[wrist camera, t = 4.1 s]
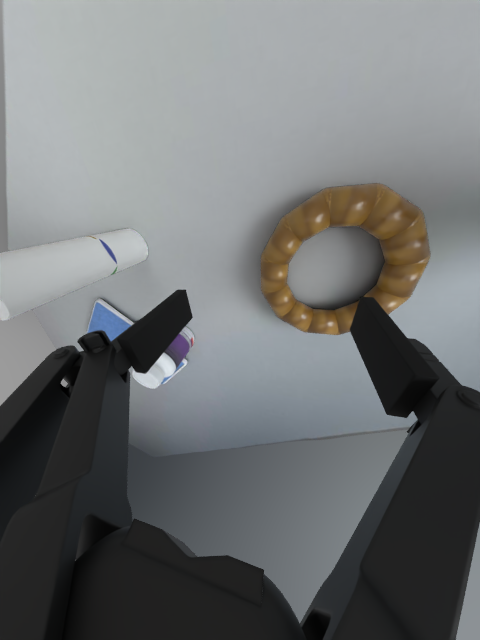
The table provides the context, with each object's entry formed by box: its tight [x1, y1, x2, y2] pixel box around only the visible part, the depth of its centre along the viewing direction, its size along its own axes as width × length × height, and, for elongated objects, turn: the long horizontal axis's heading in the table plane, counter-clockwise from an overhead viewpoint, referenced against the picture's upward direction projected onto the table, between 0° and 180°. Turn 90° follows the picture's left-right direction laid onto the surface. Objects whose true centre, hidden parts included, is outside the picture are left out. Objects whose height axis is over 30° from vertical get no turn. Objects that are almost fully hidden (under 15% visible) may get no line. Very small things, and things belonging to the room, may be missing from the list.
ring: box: [261, 183, 431, 335], centre depth 19 cm, size 15×15×3 cm
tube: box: [0, 228, 148, 320], centre depth 18 cm, size 4×4×15 cm
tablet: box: [87, 299, 188, 384], centre depth 36 cm, size 19×13×1 cm, turn 50°
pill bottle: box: [132, 327, 195, 389], centre depth 28 cm, size 5×5×10 cm
